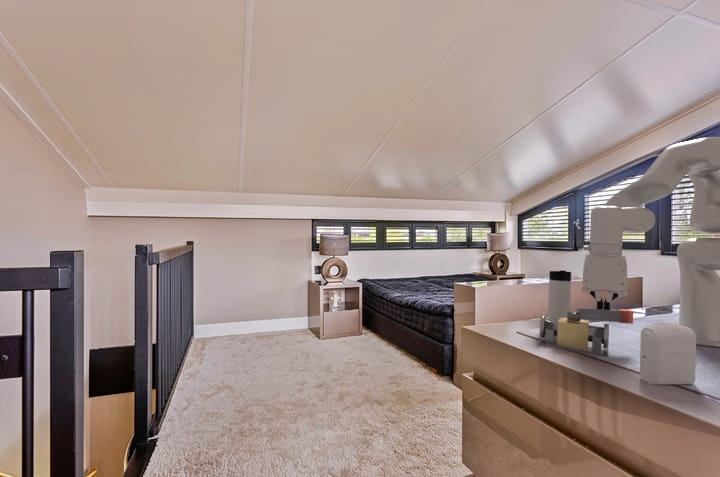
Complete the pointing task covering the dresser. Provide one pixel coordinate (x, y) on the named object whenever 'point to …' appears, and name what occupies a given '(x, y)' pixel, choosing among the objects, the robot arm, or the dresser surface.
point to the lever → (601, 315)
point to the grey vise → (574, 336)
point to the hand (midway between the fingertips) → (603, 315)
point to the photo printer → (668, 354)
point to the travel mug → (559, 294)
